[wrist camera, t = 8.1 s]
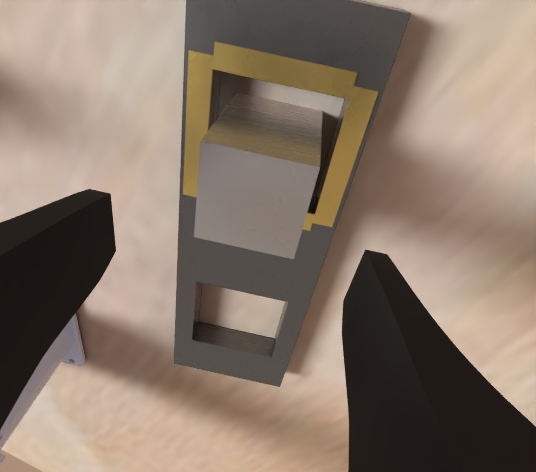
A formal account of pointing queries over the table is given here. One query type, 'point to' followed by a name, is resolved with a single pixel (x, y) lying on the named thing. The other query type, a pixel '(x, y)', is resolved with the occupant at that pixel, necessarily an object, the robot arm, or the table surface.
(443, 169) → the table surface
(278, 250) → the grey rectangular block
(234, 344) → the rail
